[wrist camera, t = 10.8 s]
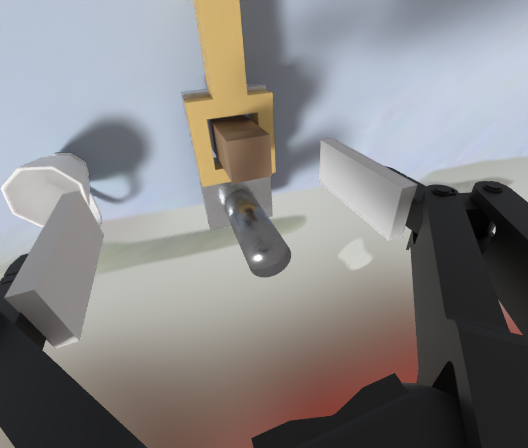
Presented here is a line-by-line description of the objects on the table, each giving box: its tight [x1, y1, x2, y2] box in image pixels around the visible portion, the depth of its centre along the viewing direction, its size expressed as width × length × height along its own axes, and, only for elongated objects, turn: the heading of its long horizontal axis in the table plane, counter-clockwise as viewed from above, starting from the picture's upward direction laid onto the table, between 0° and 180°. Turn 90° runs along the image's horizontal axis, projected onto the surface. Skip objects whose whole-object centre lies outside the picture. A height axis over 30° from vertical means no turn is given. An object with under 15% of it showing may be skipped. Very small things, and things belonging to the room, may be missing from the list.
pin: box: [207, 115, 272, 184], centre depth 30 cm, size 4×4×14 cm
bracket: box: [184, 0, 276, 187], centre depth 30 cm, size 20×9×8 cm, turn 4°
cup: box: [1, 153, 102, 228], centre depth 31 cm, size 7×10×8 cm
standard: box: [181, 83, 291, 277], centre depth 31 cm, size 18×9×18 cm, turn 4°
